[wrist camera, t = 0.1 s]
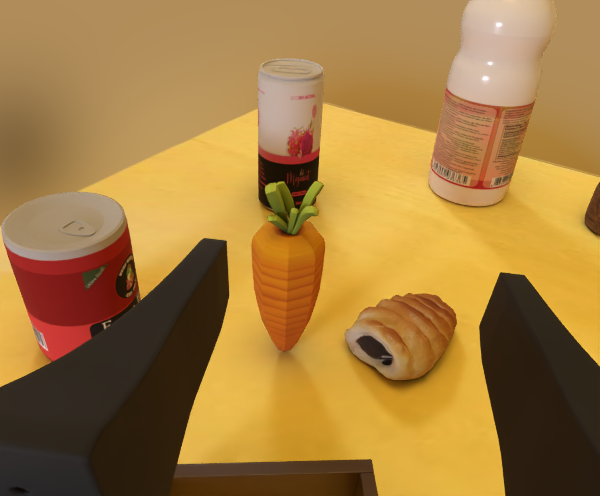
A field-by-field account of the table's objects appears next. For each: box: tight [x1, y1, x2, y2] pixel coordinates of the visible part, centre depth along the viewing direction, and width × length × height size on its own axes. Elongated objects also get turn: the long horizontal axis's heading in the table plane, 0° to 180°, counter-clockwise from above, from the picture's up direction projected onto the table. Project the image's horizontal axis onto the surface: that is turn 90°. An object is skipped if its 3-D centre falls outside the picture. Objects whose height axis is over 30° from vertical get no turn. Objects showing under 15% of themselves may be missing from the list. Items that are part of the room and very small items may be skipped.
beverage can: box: [258, 58, 325, 213], centre depth 56 cm, size 7×6×15 cm
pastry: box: [345, 293, 457, 380], centre depth 42 cm, size 9×7×4 cm
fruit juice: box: [429, 0, 557, 206], centre depth 56 cm, size 9×9×28 cm
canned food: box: [1, 192, 141, 362], centre depth 39 cm, size 8×8×11 cm
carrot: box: [252, 181, 325, 351], centre depth 37 cm, size 5×5×15 cm
